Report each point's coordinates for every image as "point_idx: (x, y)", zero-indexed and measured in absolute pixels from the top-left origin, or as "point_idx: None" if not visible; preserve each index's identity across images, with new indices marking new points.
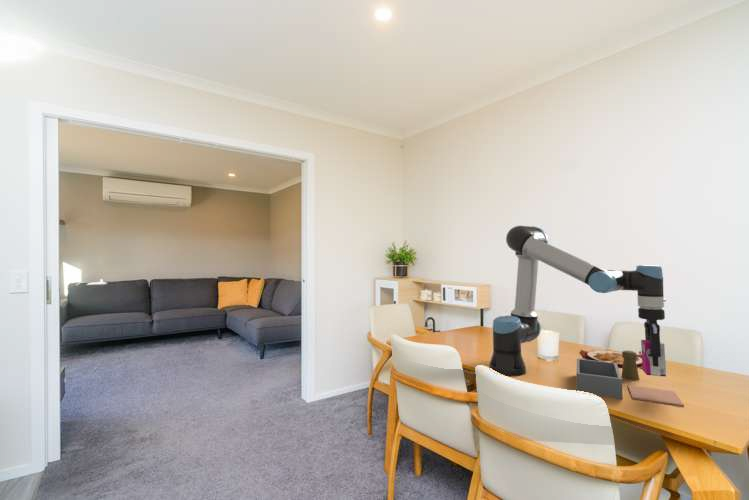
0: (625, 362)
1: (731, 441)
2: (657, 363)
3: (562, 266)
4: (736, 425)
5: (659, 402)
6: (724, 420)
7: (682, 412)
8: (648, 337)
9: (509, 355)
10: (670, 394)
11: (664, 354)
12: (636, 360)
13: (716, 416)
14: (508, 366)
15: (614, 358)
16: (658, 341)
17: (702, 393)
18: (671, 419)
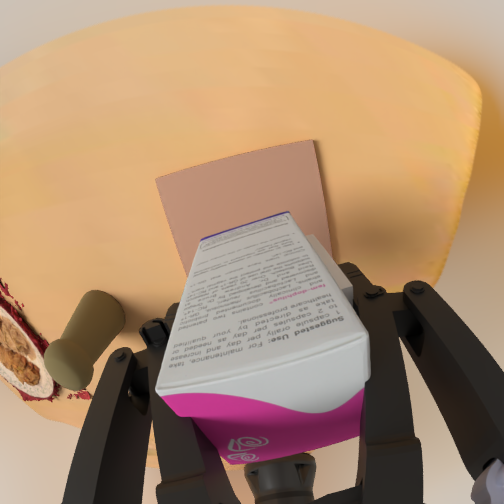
0: (97, 358)
1: (467, 84)
2: (359, 274)
3: None
4: (374, 37)
5: (325, 208)
6: (357, 53)
7: (369, 147)
8: (223, 469)
9: (310, 489)
10: (212, 184)
11: (327, 268)
12: None
13: (338, 64)
14: (314, 471)
15: (9, 350)
16: (489, 369)
17: (99, 107)
18: (433, 178)
